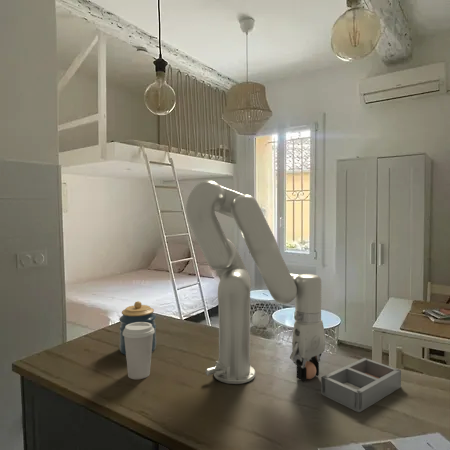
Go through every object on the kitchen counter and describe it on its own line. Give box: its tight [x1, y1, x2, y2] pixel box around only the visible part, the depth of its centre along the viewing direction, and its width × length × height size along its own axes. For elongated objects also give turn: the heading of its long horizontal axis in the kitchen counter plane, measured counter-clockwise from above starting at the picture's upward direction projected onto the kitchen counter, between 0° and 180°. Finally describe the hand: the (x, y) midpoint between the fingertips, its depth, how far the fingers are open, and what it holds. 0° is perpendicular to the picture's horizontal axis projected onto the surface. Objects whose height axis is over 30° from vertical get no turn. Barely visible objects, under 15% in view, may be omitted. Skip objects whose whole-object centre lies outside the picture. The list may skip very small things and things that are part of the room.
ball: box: [305, 361, 316, 380], centre depth 104 cm, size 5×5×5 cm
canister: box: [118, 300, 157, 356], centre depth 126 cm, size 13×13×18 cm
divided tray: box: [320, 357, 402, 413], centre depth 97 cm, size 21×11×5 cm, turn 127°
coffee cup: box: [122, 322, 155, 380], centre depth 107 cm, size 10×10×15 cm
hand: (307, 376), depth 104 cm, fingers closed on ball, 4 cm apart
